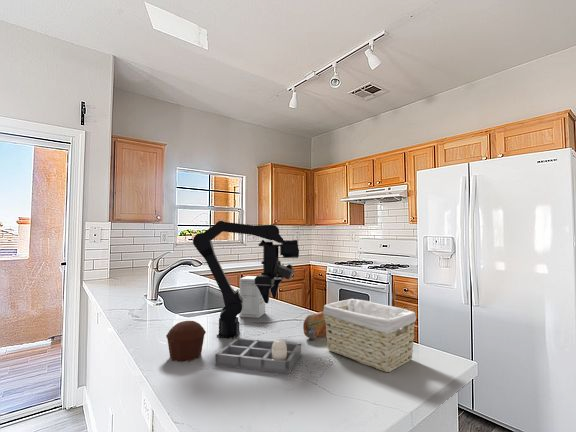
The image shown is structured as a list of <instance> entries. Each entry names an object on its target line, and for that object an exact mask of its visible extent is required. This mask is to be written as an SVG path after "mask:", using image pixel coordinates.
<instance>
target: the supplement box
mask: <svg viewBox="0 0 576 432" xmlns="http://www.w3.org/2000/svg"><path fill="white" fill-rule="evenodd" d="M257 276H258V275H255V276H253V275H251V276H250V275H247V276H246V275H245V276H243V277H241V278H240V279H239V294H240V296H241V297H242V298H243V303H242V311H241V312H240V313H239V318H241V317H242V318H253V319H254V318H258V319H259V318H261V317H262V316H264V315H265V313H266V303H265V302H264V299H263V297H262V295H261V293H260V291H259V289H258V287H257V286H256V284H255V278H256V277H257Z"/></svg>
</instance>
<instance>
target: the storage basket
mask: <svg viewBox="0 0 576 432" xmlns="http://www.w3.org/2000/svg"><path fill="white" fill-rule="evenodd" d="M322 312H323V313H324V314H325V322H326V335H327V336H325V337H326V344H327V350H329V352H332V353H334V354H338V355H341V356H343V357H346V358H349V359H351V360H352V361H356V362H358V363H360V364H362V365H364V366H369V367H373V368H374V369H377V370H380V371H381V372H386V373H390V372H392V371H393V370H396V369H397V368H400V367H402V366H404V365H406V364H407V363H409V362H411V360H412V359H413V351H414V349H413V347H414V339H415V334H414V333H415V323H416V321H417V317H416V312H415V311H412V310H410V309H405V308H401V307H396V306H392V305H386V304H382V303H377V302H373V301H369V300H365V299H358V298H356V299H354V298H349V299H344V300H339V301H336V302H335V301H334V302H331V303H327V304H325V305H323V310H322Z"/></svg>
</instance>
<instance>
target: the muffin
mask: <svg viewBox="0 0 576 432" xmlns="http://www.w3.org/2000/svg"><path fill="white" fill-rule="evenodd" d="M206 332H207V331H206V330H205V328H204V327H203V326H202V325H201V324H200V323H199V322H197V321H194V320H184V321H180V322H178V323H175V324H174V325H173V326H172V327H171V328H170V329H169V331H168V332H167V334H166V339H167V344H168V345H167V346H168V354H169V358H170V359H171V360H172V362H178V363H183V362H191V361H194V360H196V359H199V358H200V356H201V355H202V351H203V345H204V340H205V335H206Z"/></svg>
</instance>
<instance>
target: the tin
mask: <svg viewBox="0 0 576 432" xmlns="http://www.w3.org/2000/svg"><path fill="white" fill-rule="evenodd" d="M302 329H303V334H304V335H305V337H306V338H308V339H310V340H313V341H314V340H315V341H316V340H319V339H321V338H325V337H326V336H327V335H326V322H325V314H324V313H323V311H320V312H316V313H312V314H309V315H308V316H307V317H305V318H304V321H303V327H302Z"/></svg>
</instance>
